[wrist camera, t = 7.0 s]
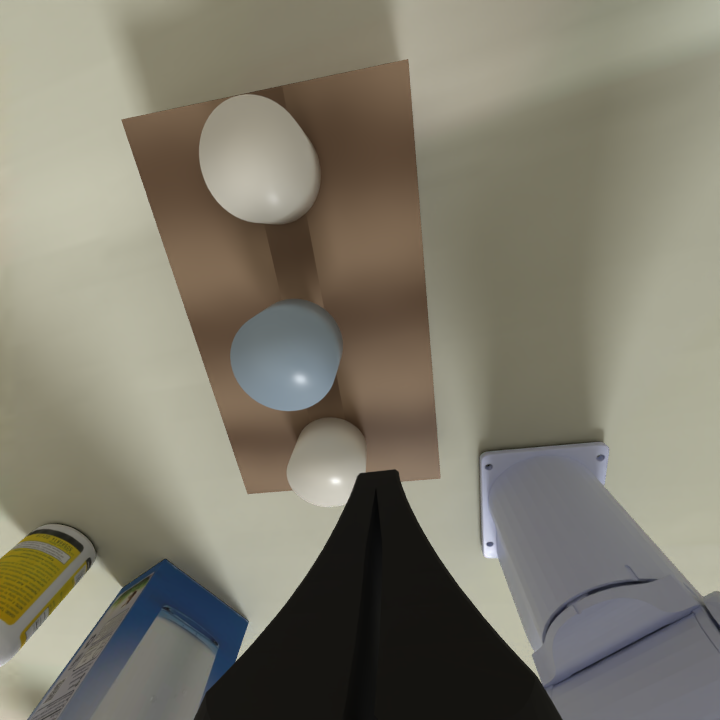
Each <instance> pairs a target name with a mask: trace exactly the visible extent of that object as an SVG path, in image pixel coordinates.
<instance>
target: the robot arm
mask: <svg viewBox="0 0 720 720" xmlns="http://www.w3.org/2000/svg"><path fill="white" fill-rule="evenodd" d="M598 455H600V456H599V457H597V456H598ZM608 456H609V447H608V446H607V445H606V444H605V443H603V442H590V443H579V444H568V445H556V446H545V447H533V448H522V449H510V450H499V451H488V452H484V453H482V454H481V455H480V495H481V535H482V552H483V555H484V556H485V557H486V558H498V559H499V562H500V565H501V567H502V570H503V573H504V576H505V578H506V581H507V584H508V587H509V589H510V592H511V595H512V597H513V600H514V603H515V606H516V608H517V611H518V614H519V617H520V619H521V622H522V625H523V627H524V630H525V633H526V636H527V638H528V640H529V642H530V644H531V647H532V648H533V650H534V653H533V654H532V657H533V660H534V663H535V666H536V668H537V671H538V674H539V677H540V679H541V682H542V684H541V682H540V680H539V679H538V677H537V676H536V675H535V673H534V672H533V671H532V670H531V669H530V668H529V667H528V666H527V665H526V664H525V663H524V662H523V661H522V660H521V659H520V658H519V657H518V655H517V654H516V653H515V652H514V651H513V650H512V649H511V648H510V647H509V646H508V644H507V643H506V642H505V641H504V640H503V639H502V638H501V637H500V636H499V634H498V633H497V632H496V631H495V630H494V629H493V627H492V626H491V625H490V624H489V623H488V622H487V620H486V619H485V618H484V617H483V616H482V614H481V613H480V612H479V611H478V609H477V608H476V607H475V606H474V604H473V603H472V602H471V601H470V599H469V598H468V597H467V596H466V594H465V593H464V592H463V591H462V589H461V588H460V587H459V585H458V584H457V583H456V581H455V580H454V578H453V577H452V576H451V574H450V573H449V571H448V570H447V569H446V567H445V566H444V564H443V563H442V561H441V560H440V558H439V557H438V555H437V554H436V552H435V550H434V549H433V547H432V546H431V544H430V542H429V541H428V539H427V537H426V535H425V534H424V532H423V530H422V528H421V527H420V525H419V523H418V521H417V519H416V517H415V515H414V513H413V511H412V509H411V507H410V505H409V503H408V500H407V498H406V495H405V493H404V490H403V487H402V484H401V481H400V476H399V472H398V471H397V470H396V469H393V470H384V471H375V472H366V473H360V474H359V475H358V476H357V478H356V481H355V484H354V487H353V489H352V492H351V494H350V497H349V499H348V501H347V503H346V506H345V508H344V510H343V512H342V514H341V516H340V518H339V520H338V522H337V524H336V526H335V528H334V530H333V532H332V534H331V536H330V537H329V539H328V541H327V543H326V545H325V546H324V548H323V550H322V552H321V553H320V555H319V556H318V558H317V560H316V561H315V563H314V564H313V566H312V568H311V569H310V571H309V572H308V574H307V575H306V577H305V578H304V579H303V581H302V582H301V584H300V585H299V586H298V588H297V589H296V591H295V592H294V593H293V595H292V596H291V597H290V599H289V600H288V601H287V603H286V604H285V605H284V607H283V608H282V609H281V610H280V612H279V613H278V614H277V615H276V617H275V618H274V619H273V620H272V621H271V623H270V624H269V625H268V626H267V627H266V628H265V630H264V631H263V632H262V633H261V634H260V636H259V637H258V638H257V639H256V640H255V641H254V643H253V644H252V645H251V646H250V647H249V648H248V649H247V650H246V652H245V653H244V654H243V655H242V656H241V657H240V658H239V659H238V660H237V661H236V662H235V663H234V664H233V665H232V666H231V667H230V668H229V669H228V670H227V671H226V672H225V673H224V674H223V676H222V677H221V678H220V679H219V680H218V681H217V682H216V683H215V684H214V685H213V686H212V687H211V688H210V689H209V690H208V691H207V692H206V694H205V696H204V698H203V700H202V703H201V705H200V707H199V709H198V711H197V713H196V715H195V717H194V720H720V592H718V591H714V592H712V593H710V594H708V595H706V596H705V597H703V596H702V595H701V594H700V593H699V592H698V591H697V590H696V589H695V588H694V587H693V585H692V584H691V583H690V582H689V581H688V580H687V579H686V578H685V576H684V575H683V574H682V573H681V572H680V571H679V570H678V569H677V567H676V566H675V565H674V564H673V563H672V562H671V561H670V560H669V559H668V557H667V556H666V555H665V554H664V553H663V552H662V551H661V550H660V548H659V547H658V546H657V545H656V544H655V543H654V542H653V541H652V539H651V538H650V537H649V536H648V535H647V534H646V533H645V532H644V530H643V529H642V528H641V527H640V526H639V525H638V524H637V523H636V521H635V520H634V519H633V518H632V517H631V516H630V515H629V514H628V512H627V511H626V510H625V509H624V508H623V507H622V506H621V505H620V503H619V502H618V501H617V500H616V499H615V498H614V497H613V496H612V494H611V493H610V492H609V491H608V490H607V489H606V488H605V487H604V485H605V477H606V470H607V463H608ZM487 464H491V465H490V466H486V465H487Z"/></svg>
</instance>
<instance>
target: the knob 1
mask: <svg viewBox="0 0 720 720" xmlns="http://www.w3.org/2000/svg"><path fill="white" fill-rule="evenodd" d="M199 160H200V167H201V171H202V174H203V177H204V180H205V183H206V185H207V187H208V189H209V190H210V192H211V194H212V195H213V197H214V198H215V199H216V201H217V202H218V203H219V204H220V205H221V206H222V207H223V208H224V209H225V210H227V211H228V212H229V213H231V214H232V215H234V216H236V217H238V218H240V219H242V220H245V221H248V222H253V223H264V224H278V225H280V224H287V223H291V222H293V221H296V220H297V219H299V218H301V217H302V216H303V215H305V214H306V213H307V212H308V210H309V209H310V208H311V207H312V205H313V203H314V202H315V200H316V197H317V195H318V192H319V188H320V181H321V171H320V163H319V159H318V156H317V153H316V151H315V149H314V146H313V145H312V143H311V141H310V140H309V138H308V137H307V136H306V134H305V133H304V132H303V130H302V129H301V128H300V126H299V125H298V124H297V122H296V121H295V120H294V118H293V117H292V116H291V115H290V114H289V113H288V112H287V111H286V110H285V109H284V108H283V107H282V106H280V105H279V104H278V103H276V102H274V101H272V100H271V99H268V98H266V97H263V96H259V95H252V94H245V95H238V96H235V97H231V98H229V99H227V100H225V101H224V102H222V103H221V104H220V105H218V106H217V107H216V108H215V109H214V110H213V112H212V113H211V114H210V116H209V117H208V119H207V121H206V123H205V125H204V127H203V130H202V133H201V137H200V144H199Z"/></svg>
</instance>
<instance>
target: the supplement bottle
mask: <svg viewBox="0 0 720 720" xmlns="http://www.w3.org/2000/svg"><path fill="white" fill-rule="evenodd" d="M95 558H96V552H95V549H94V547H93V545H92V543H91V542H90V541H89V539H88V538H87V537H86V536H84V535H83V534H82V533H80V532H79V531H77V530H76V529H74V528H71V527H69V526H65V525H60V524H47V525H43V526H40V527H38V528H37V529H35V530H34V531H32V532H31V533H30V534H29V535H27V536H26V537H25V538H24V539H23V540H22V541H20V542H19V543H18V544H17V545H16V546H15V547H13V548H12V549H11V550H10V551H9V552H8V553H7V554H5V555H4V556H3V557H2V558H1V559H0V667H1V666H2V665H4V664H5V663H7V662H8V661H9V660H10V659H11V658H12V657H13V656H14V655H15V654H16V653H17V652H18V651H19V650H20V649H21V648H22V646H23V645H24V644H25V643H26V642H27V640H28V639H29V638H30V637H31V636H32V635H33V633H34V632H35V631H36V630H37V629H38V628H39V627H40V626H41V624H42V623H43V622H44V621H45V620H46V619H47V617H48V616H49V615H50V614H51V613H52V612H53V610H54V609H55V608H56V607H57V606H58V605H59V603H60V602H61V601H62V600H63V599H64V598H65V597H66V595H67V594H68V593H69V592H70V591H71V589H72V588H73V587H74V586H75V585H76V584H77V583H78V582H79V580H80V579H81V578H82V577H83V576H84V574H85V573H86V572H87V571H88V570H89V569H90V567H91V566H92V565H93V563H94V561H95Z"/></svg>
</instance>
